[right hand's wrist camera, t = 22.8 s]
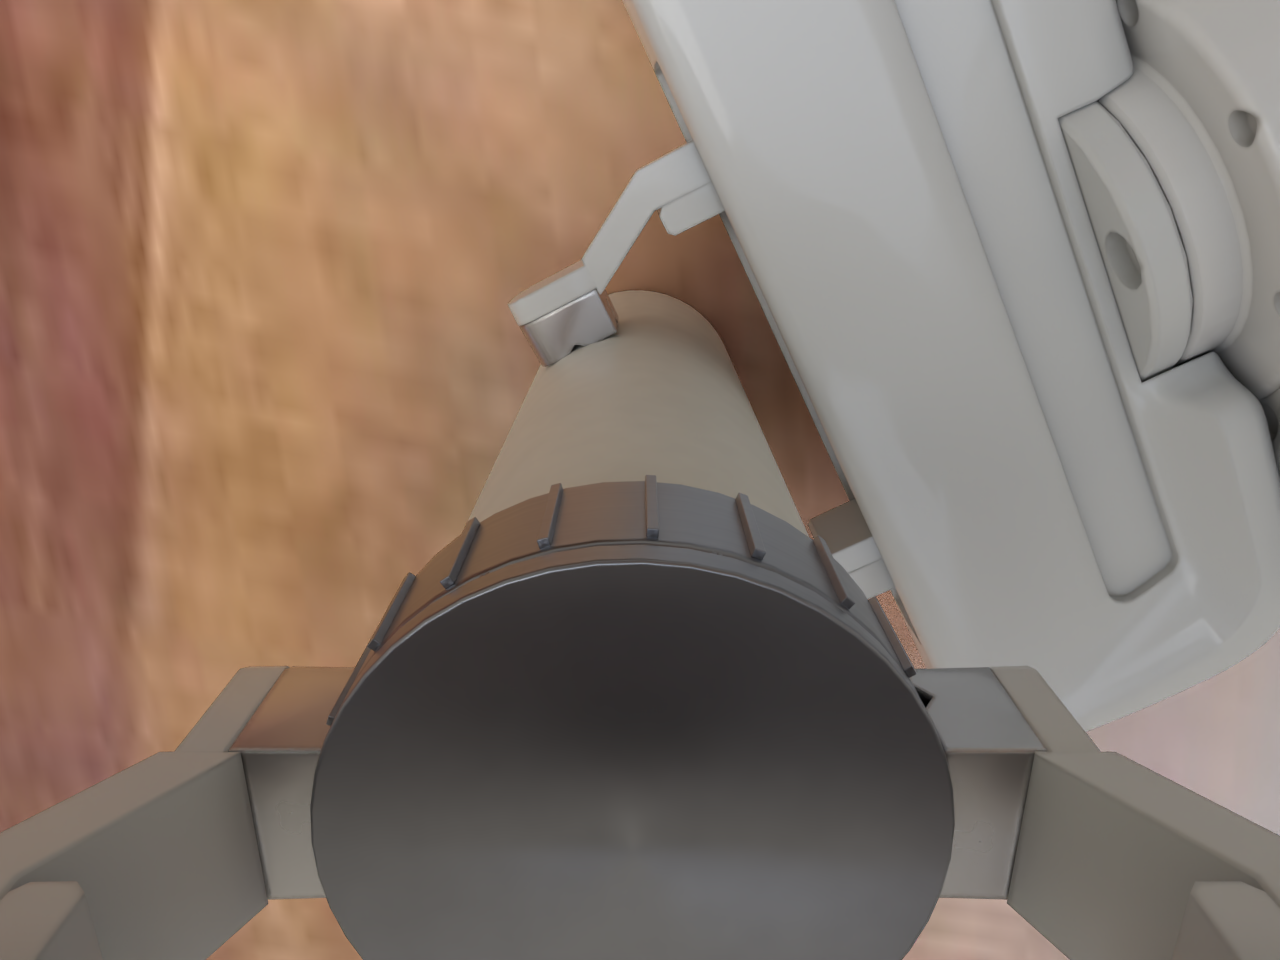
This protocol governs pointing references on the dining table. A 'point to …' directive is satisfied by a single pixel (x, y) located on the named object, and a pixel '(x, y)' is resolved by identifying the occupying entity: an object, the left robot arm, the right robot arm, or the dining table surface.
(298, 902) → the dining table surface
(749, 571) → the lid
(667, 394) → the jar
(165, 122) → the dining table surface
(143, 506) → the dining table surface
